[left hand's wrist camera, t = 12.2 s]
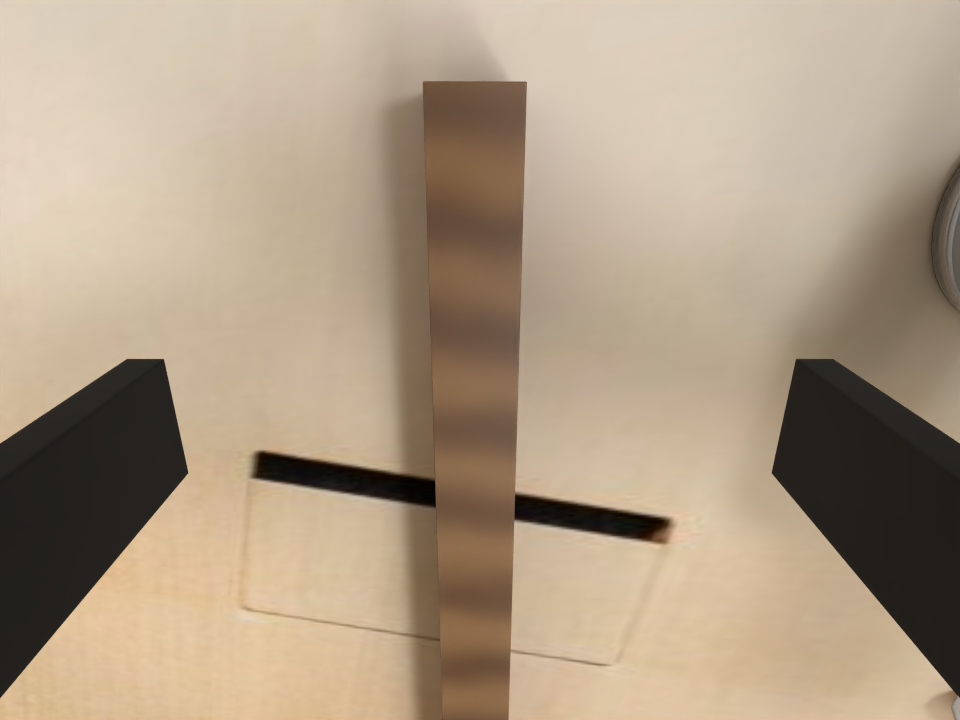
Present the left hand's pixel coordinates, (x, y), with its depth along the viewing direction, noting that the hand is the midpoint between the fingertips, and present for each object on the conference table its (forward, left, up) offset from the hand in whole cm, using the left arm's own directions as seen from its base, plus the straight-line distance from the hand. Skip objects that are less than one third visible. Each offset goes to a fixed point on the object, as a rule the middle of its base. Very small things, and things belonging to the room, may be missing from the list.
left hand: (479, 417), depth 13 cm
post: (+23, +25, -26) cm, 43 cm away
